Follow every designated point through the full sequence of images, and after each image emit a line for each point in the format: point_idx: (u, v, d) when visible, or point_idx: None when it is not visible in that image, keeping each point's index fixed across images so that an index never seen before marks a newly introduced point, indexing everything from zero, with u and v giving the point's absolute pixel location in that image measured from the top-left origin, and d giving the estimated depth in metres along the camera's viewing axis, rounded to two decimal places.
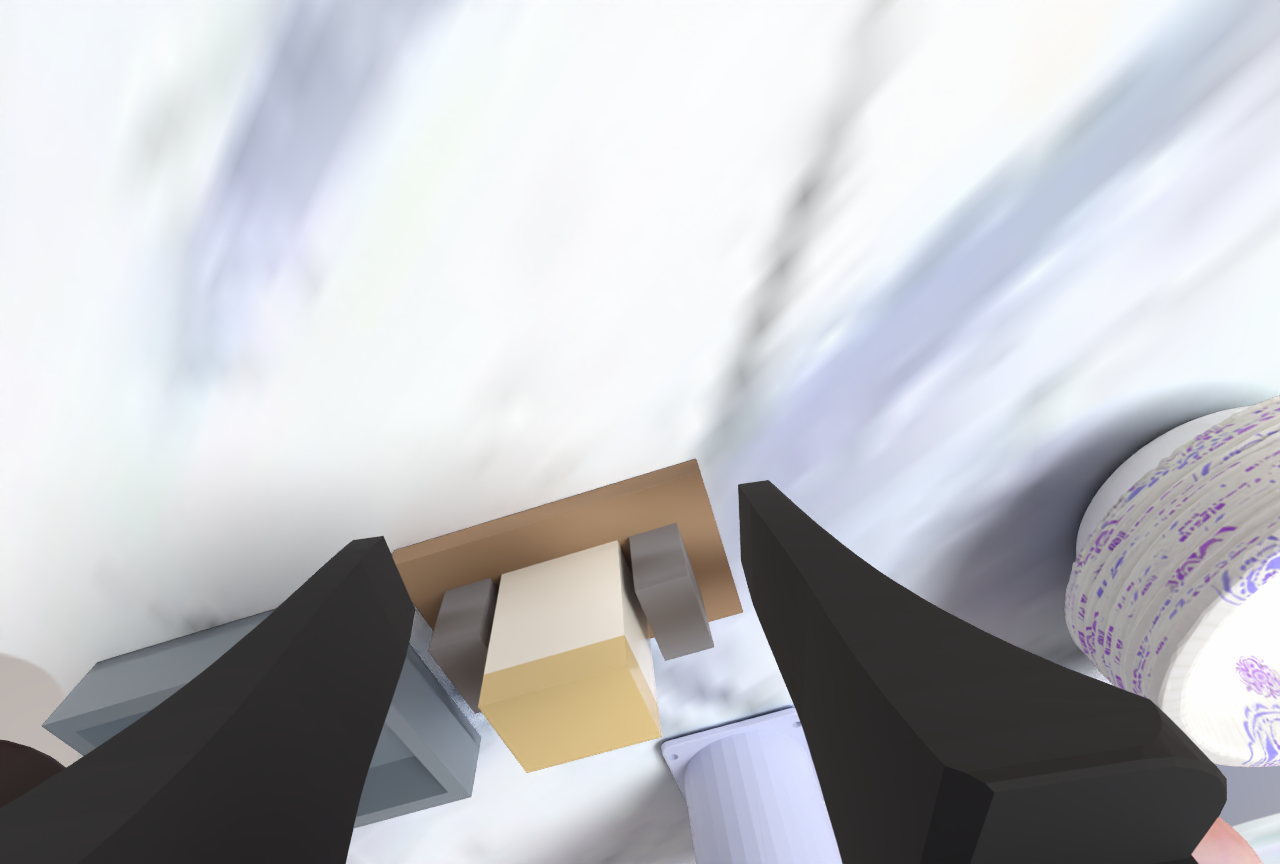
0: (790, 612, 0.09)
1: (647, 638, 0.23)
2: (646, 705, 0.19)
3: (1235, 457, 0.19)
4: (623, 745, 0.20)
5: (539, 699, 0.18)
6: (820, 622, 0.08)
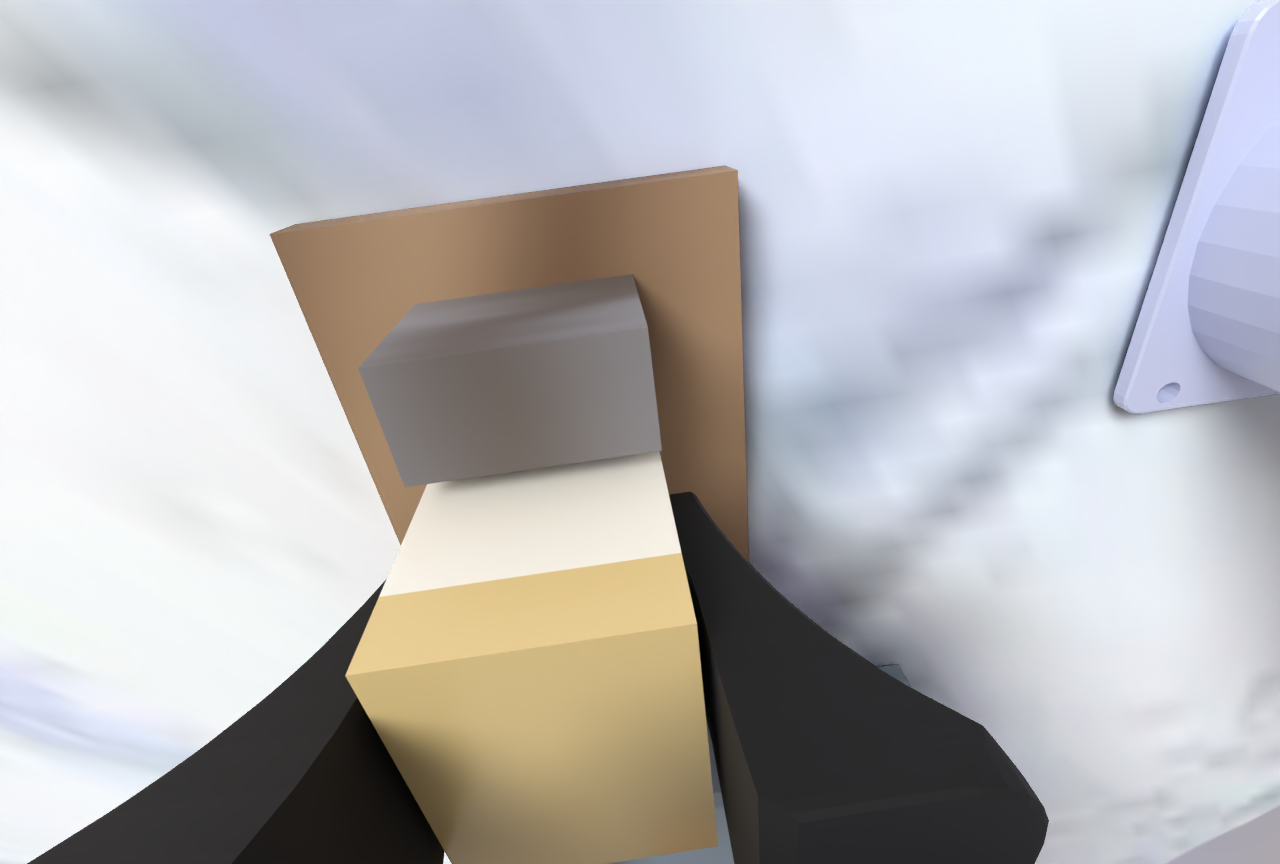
0: None
1: None
2: (542, 641, 0.07)
3: None
4: (695, 701, 0.07)
5: (459, 814, 0.08)
6: (706, 639, 0.08)
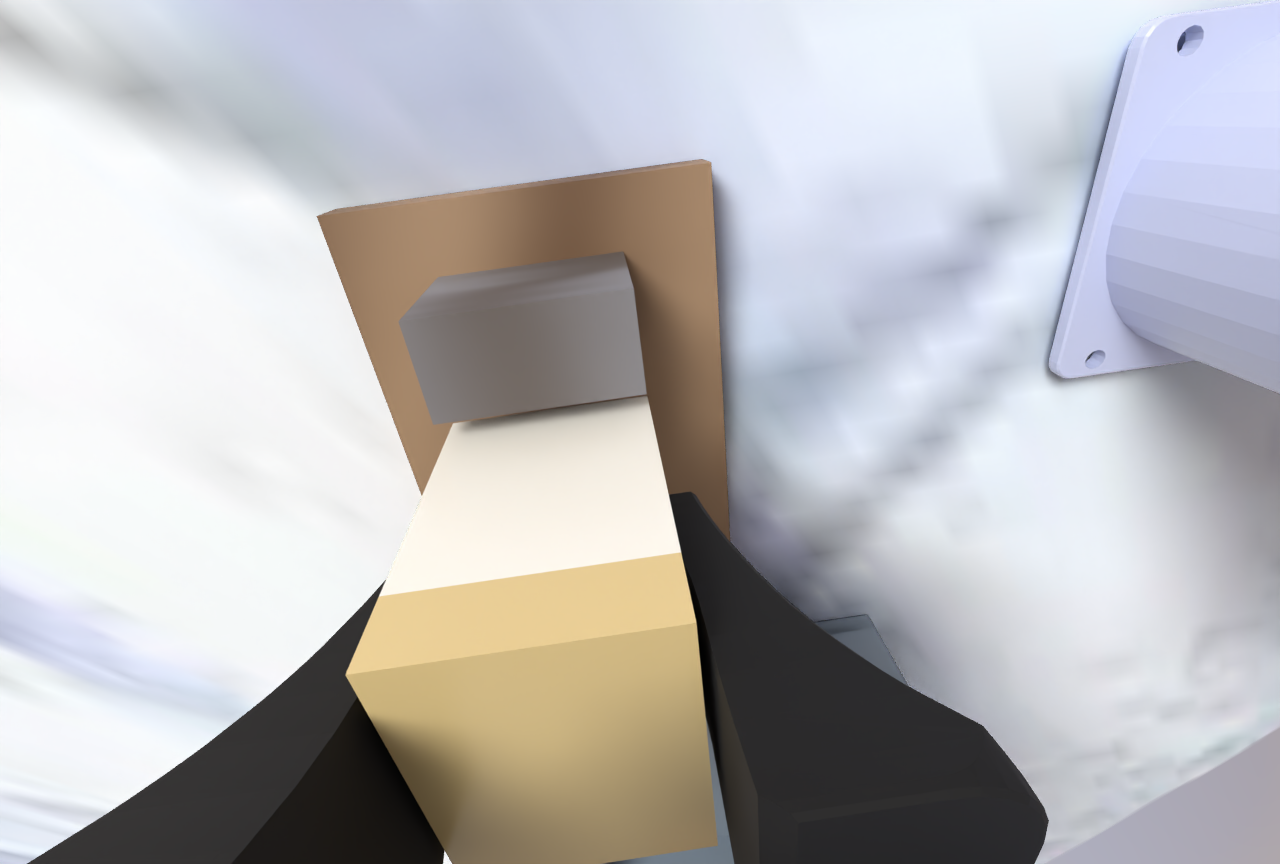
0: None
1: (632, 451, 0.10)
2: (542, 639, 0.07)
3: None
4: (695, 700, 0.07)
5: (459, 814, 0.08)
6: (706, 639, 0.08)
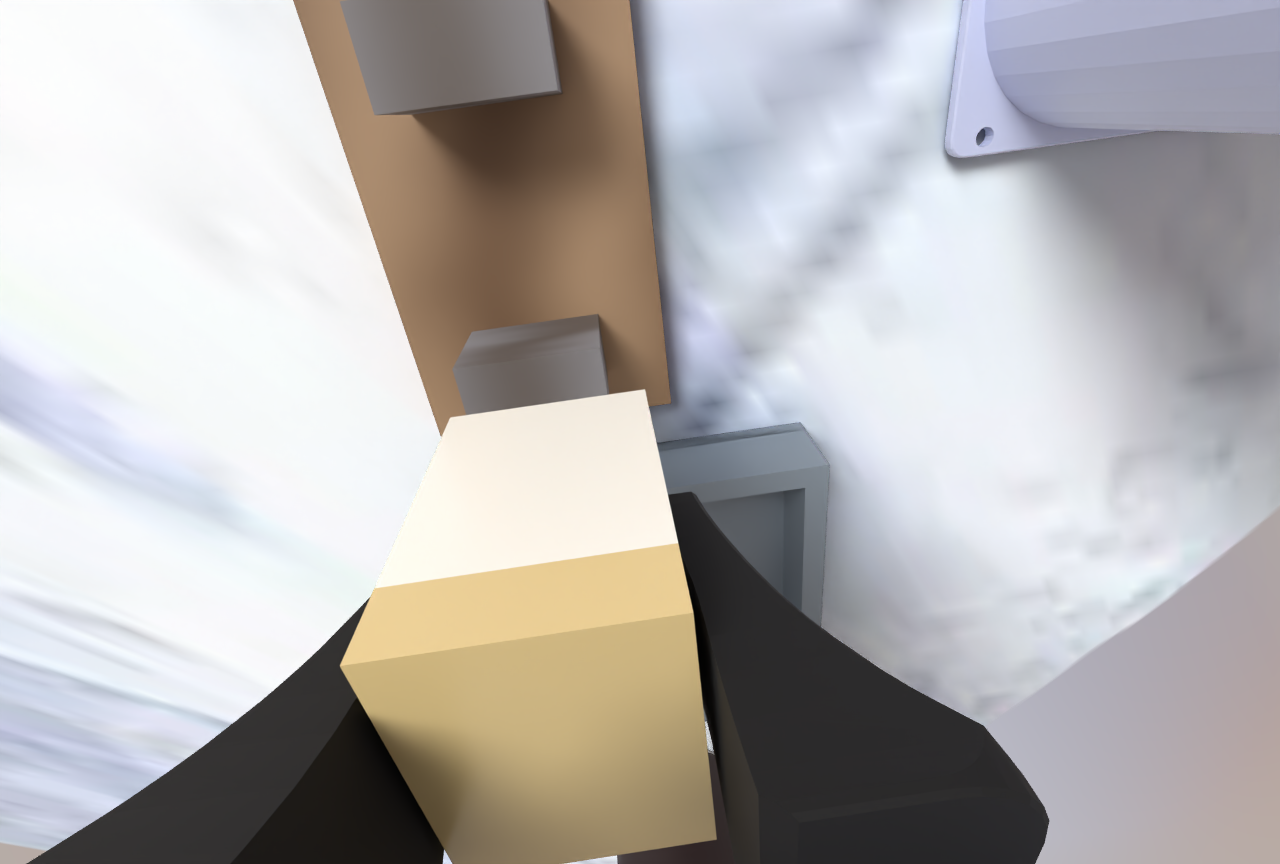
0: (695, 627, 0.09)
1: (630, 444, 0.10)
2: (537, 630, 0.06)
3: None
4: (692, 692, 0.07)
5: (456, 808, 0.08)
6: (706, 639, 0.08)
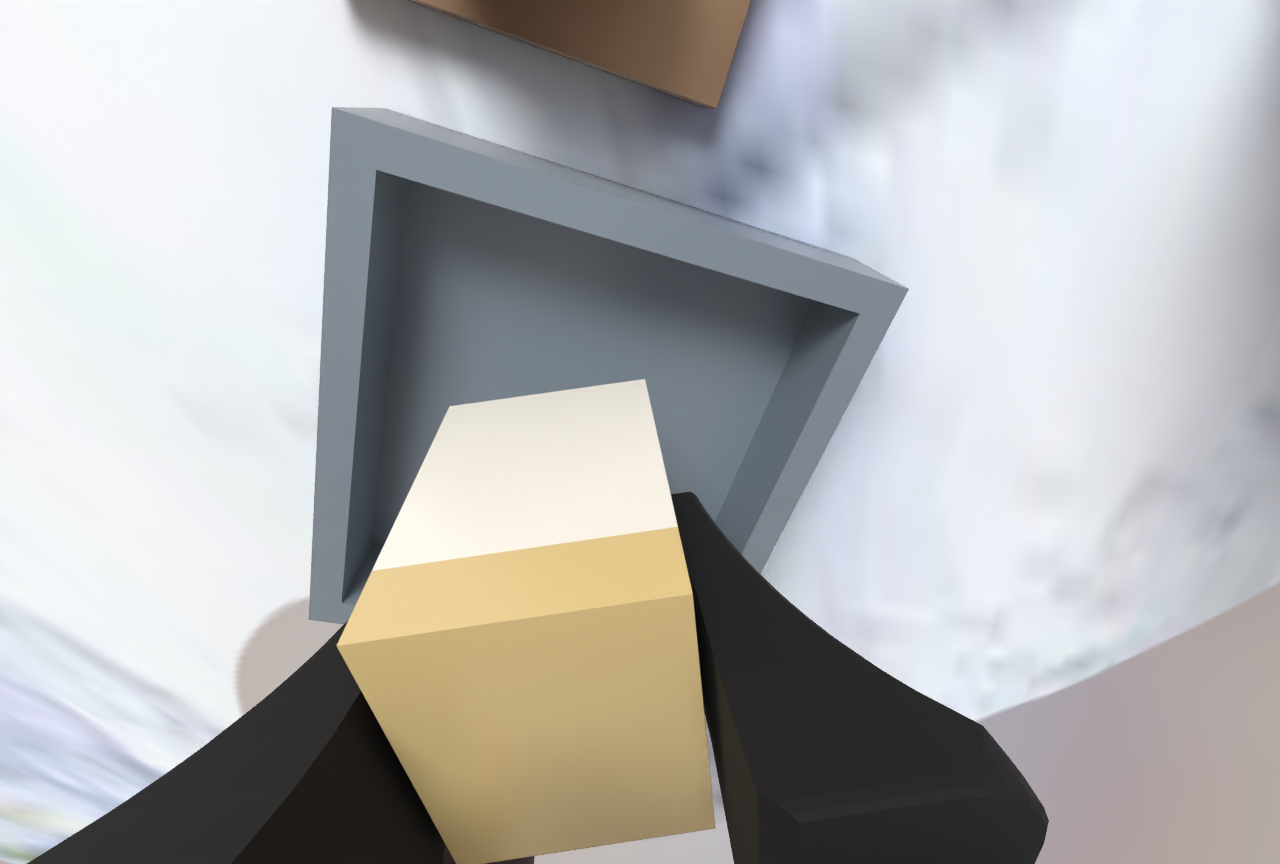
0: None
1: (630, 431, 0.10)
2: (537, 610, 0.06)
3: None
4: (692, 676, 0.07)
5: (453, 793, 0.08)
6: (706, 639, 0.08)
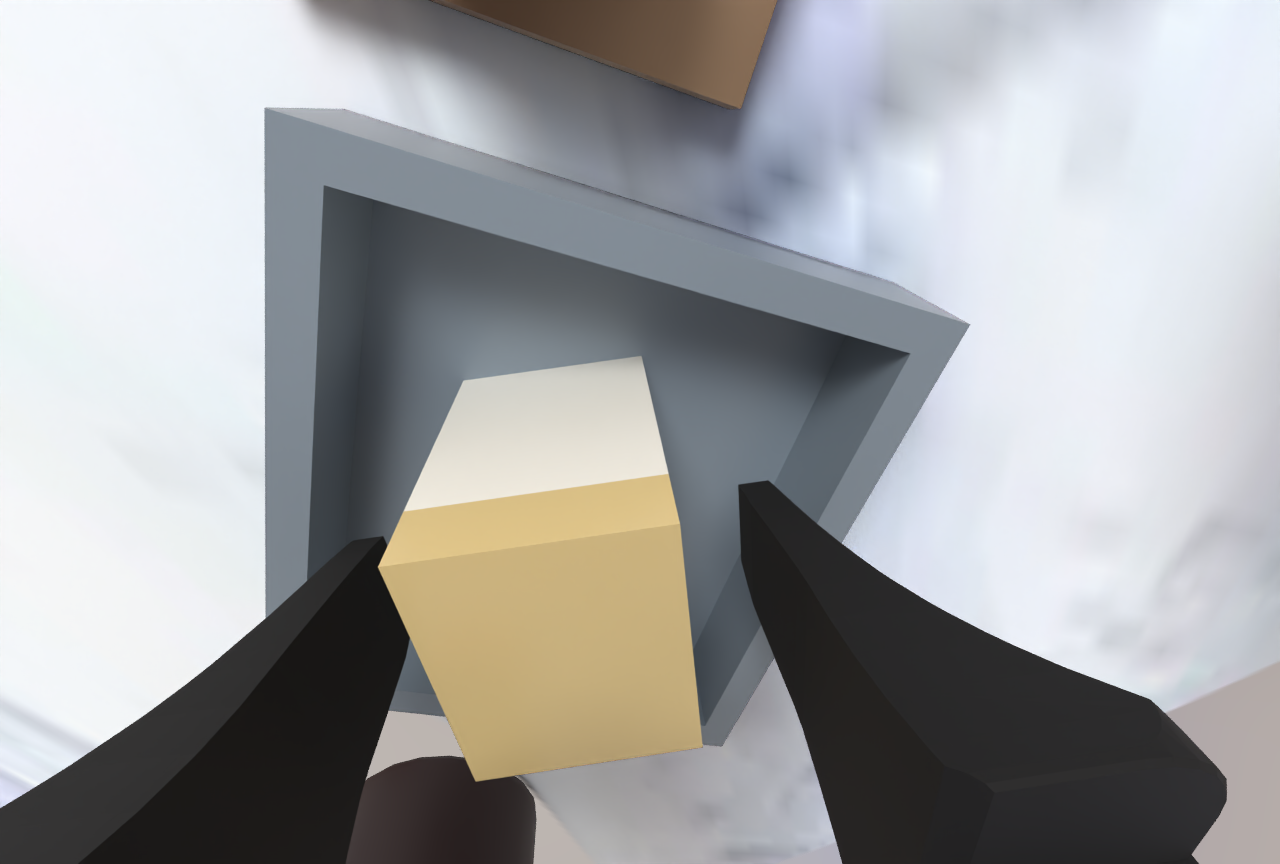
0: (791, 612, 0.09)
1: (627, 399, 0.11)
2: (546, 538, 0.08)
3: None
4: (680, 599, 0.08)
5: (473, 708, 0.09)
6: (820, 622, 0.08)
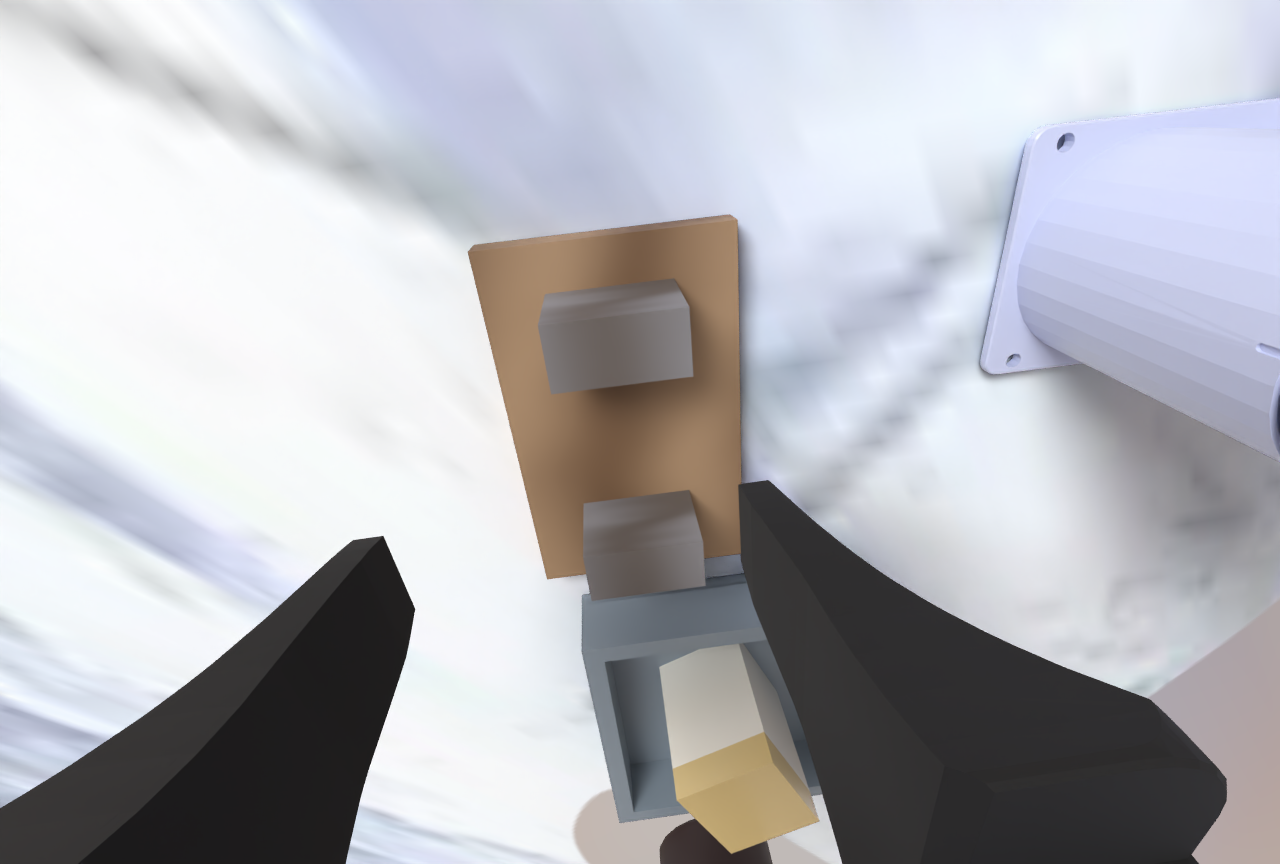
0: (791, 612, 0.09)
1: (737, 676, 0.24)
2: (728, 777, 0.21)
3: None
4: (784, 780, 0.22)
5: (721, 830, 0.23)
6: (820, 622, 0.08)
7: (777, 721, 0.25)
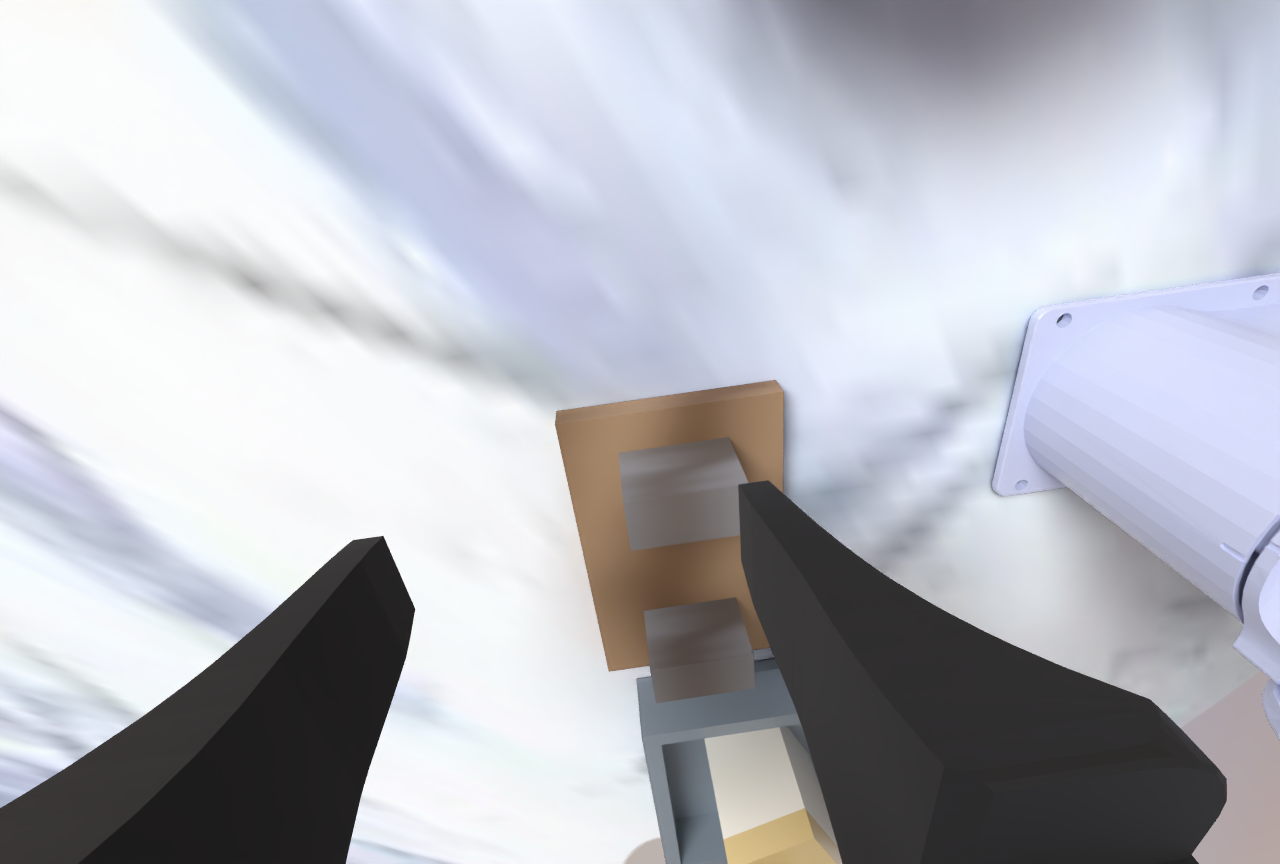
0: (791, 612, 0.09)
1: (777, 751, 0.27)
2: (775, 850, 0.24)
3: None
4: (823, 852, 0.25)
5: None
6: (820, 622, 0.08)
7: (813, 789, 0.28)
